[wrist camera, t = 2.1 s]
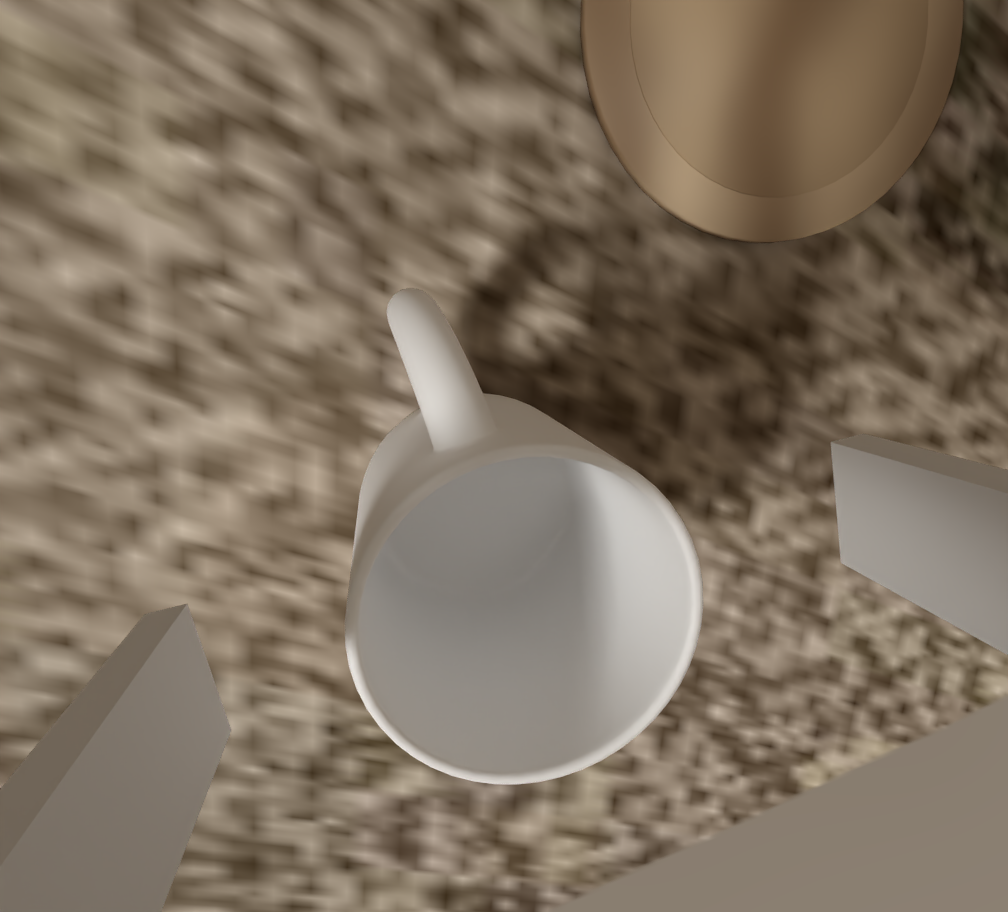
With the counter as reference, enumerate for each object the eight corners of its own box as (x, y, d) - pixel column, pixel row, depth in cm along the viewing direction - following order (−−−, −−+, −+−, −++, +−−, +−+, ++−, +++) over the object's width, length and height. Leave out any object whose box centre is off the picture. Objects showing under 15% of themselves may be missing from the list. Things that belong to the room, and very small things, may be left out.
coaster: (615, 277, 24) (622, 276, 23) (545, -183, 20) (550, -199, 20) (955, 205, 26) (970, 202, 25) (942, -229, 22) (960, -246, 22)
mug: (285, 330, 22) (208, 345, 12) (514, 256, 23) (614, 215, 13) (404, 632, 25) (419, 838, 15) (603, 558, 26) (737, 708, 16)
